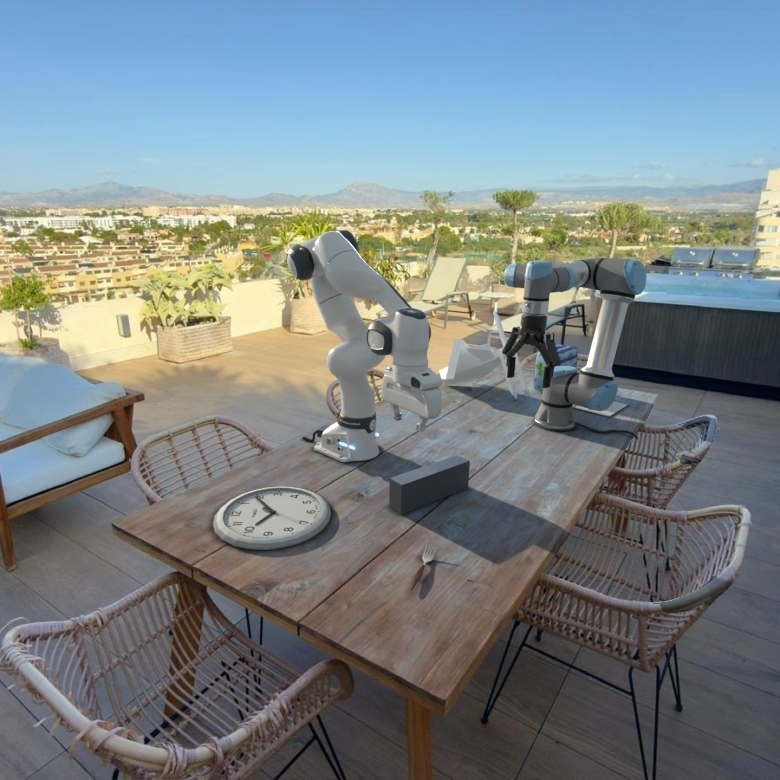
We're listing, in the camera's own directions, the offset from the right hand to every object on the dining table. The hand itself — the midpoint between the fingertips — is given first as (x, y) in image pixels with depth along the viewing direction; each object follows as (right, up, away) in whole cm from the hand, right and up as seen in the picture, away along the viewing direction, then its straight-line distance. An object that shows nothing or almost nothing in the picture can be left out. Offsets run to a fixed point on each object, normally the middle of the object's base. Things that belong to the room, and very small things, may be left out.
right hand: (527, 382), depth 163 cm
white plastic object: (-1, -4, +80) cm, 80 cm away
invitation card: (+49, -10, +63) cm, 80 cm away
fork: (-36, -43, -47) cm, 73 cm away
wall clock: (-74, -36, -26) cm, 86 cm away
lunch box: (+35, -2, +87) cm, 94 cm away
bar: (-32, -33, -15) cm, 48 cm away
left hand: (-38, -11, -27) cm, 48 cm away
